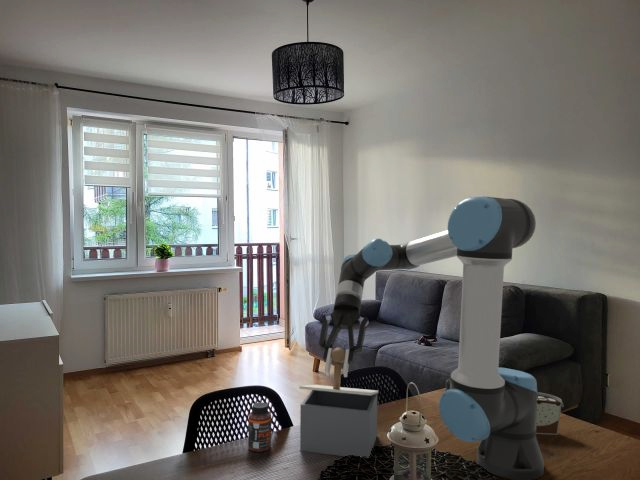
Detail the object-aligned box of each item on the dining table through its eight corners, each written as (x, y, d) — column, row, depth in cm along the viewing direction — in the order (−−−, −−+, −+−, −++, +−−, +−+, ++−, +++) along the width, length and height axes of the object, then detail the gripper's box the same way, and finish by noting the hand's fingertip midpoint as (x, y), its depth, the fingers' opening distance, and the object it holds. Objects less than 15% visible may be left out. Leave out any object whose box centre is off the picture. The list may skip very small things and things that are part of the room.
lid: (378, 392, 129) (380, 352, 132) (371, 395, 115) (373, 349, 118) (313, 386, 134) (316, 347, 137) (299, 388, 120) (303, 344, 123)
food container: (554, 425, 137) (554, 392, 137) (563, 435, 131) (563, 399, 131) (511, 423, 138) (511, 390, 138) (517, 432, 132) (518, 397, 132)
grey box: (376, 435, 129) (377, 393, 129) (369, 459, 116) (369, 411, 116) (314, 428, 134) (314, 387, 134) (300, 450, 120) (300, 404, 120)
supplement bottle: (259, 455, 118) (259, 411, 118) (243, 448, 121) (243, 405, 121) (275, 446, 123) (276, 404, 122) (259, 440, 126) (259, 399, 126)
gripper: (379, 309, 135) (370, 383, 119) (322, 306, 139) (306, 378, 124) (376, 293, 130) (367, 368, 114) (317, 291, 134) (300, 363, 118)
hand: (335, 373), depth 119 cm, fingers closed on lid, 4 cm apart
